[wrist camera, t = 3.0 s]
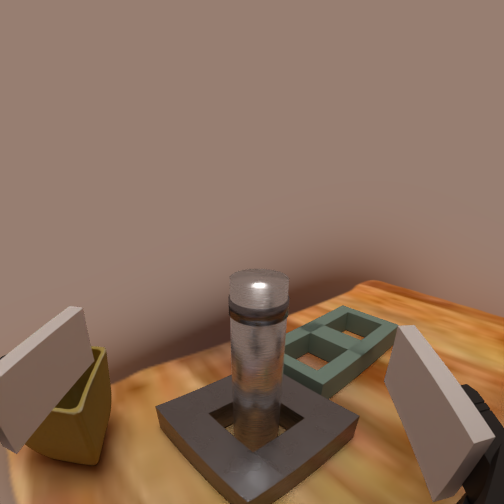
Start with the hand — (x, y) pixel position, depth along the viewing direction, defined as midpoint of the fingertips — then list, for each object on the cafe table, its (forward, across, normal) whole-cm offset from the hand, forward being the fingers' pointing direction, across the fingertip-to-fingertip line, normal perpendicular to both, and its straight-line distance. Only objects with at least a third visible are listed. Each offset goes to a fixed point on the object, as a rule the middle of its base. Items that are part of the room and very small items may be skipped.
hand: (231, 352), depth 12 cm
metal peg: (+10, +1, -16) cm, 19 cm away
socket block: (+10, +1, -16) cm, 19 cm away
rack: (+25, +10, -16) cm, 31 cm away
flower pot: (+5, -16, -17) cm, 23 cm away
